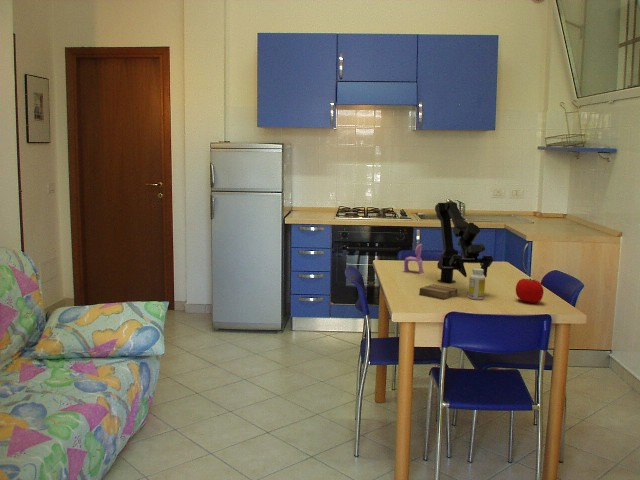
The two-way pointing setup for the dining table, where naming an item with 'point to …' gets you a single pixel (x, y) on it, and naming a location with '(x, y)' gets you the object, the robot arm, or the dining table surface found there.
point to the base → (438, 291)
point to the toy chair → (417, 259)
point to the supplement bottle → (476, 284)
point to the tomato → (529, 290)
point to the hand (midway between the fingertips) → (475, 276)
